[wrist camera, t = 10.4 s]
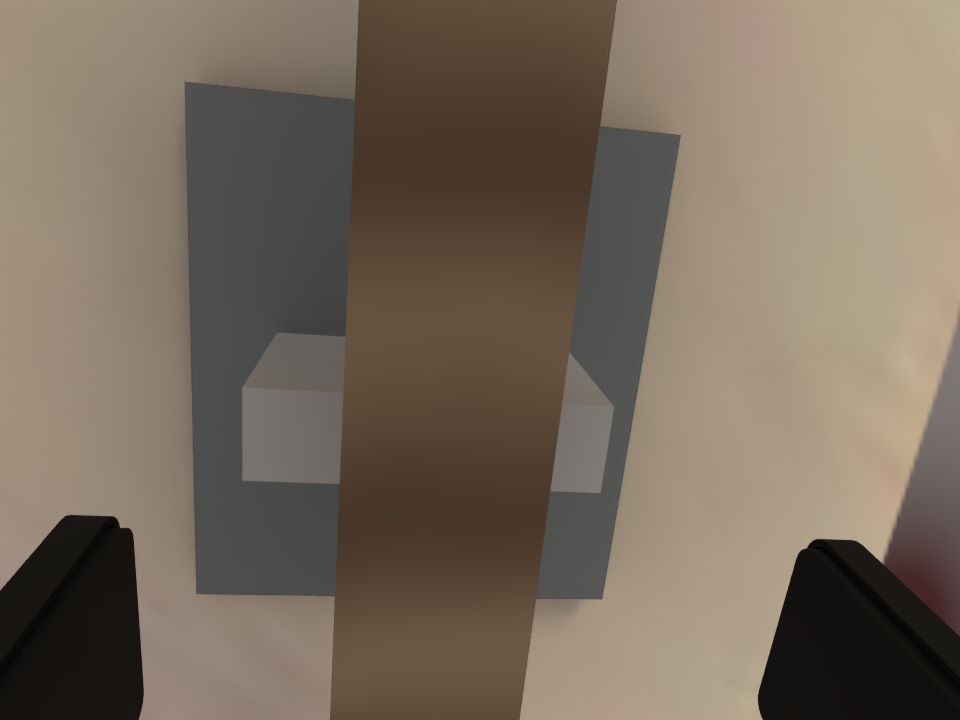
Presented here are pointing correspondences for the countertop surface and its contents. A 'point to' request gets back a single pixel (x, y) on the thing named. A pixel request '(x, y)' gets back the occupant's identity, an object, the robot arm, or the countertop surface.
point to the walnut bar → (458, 341)
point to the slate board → (322, 332)
